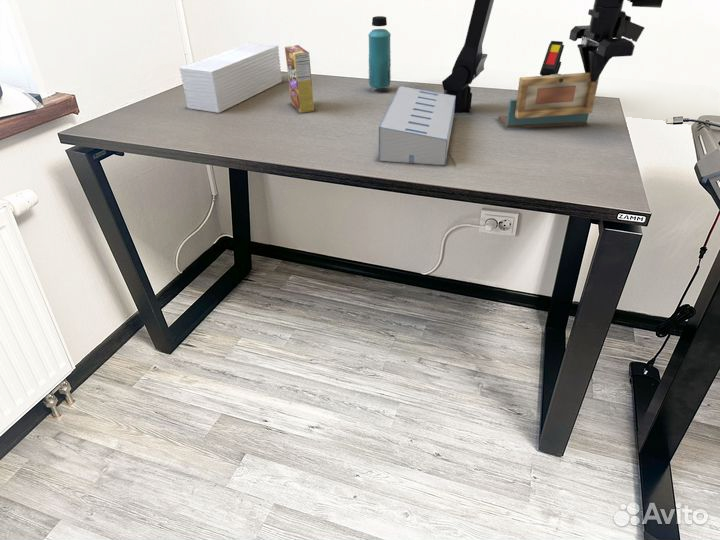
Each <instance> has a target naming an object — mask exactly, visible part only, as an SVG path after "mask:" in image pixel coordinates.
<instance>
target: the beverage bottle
mask: <svg viewBox="0 0 720 540" xmlns="http://www.w3.org/2000/svg"><path fill="white" fill-rule="evenodd" d="M371 20H372V21H371V26H373V27H385V26H387V25H388V22H387V20H388V19H387V16H383V15H377V16H373V17H372V19H371ZM367 36H368V56H367V57H368V61H367V62H368V85H369V86H370V88H375V89H386V88H388V87H390V86H391V79H392V78H391V67H392V66H391V60H392V59H391V58H392V57H391V56H392V55H391V33H390V31H389V30H388V29H386V28H374V29H372V30H371V31H370V32H369V33H368V35H367Z"/></svg>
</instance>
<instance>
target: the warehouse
mask: <svg viewBox="0 0 720 540" xmlns="http://www.w3.org/2000/svg"><path fill="white" fill-rule="evenodd" d="M455 100H456V96H454V95H448V94H444V92H443V93H442V92H437V91H433V90H432V91H431V90H426V89H420V88H414V87H408V86H404V85H399V86H398V88H397V90H396V92H395V93H394V96H393V98H392V99H391V102H390V103H389V106H388V107H387V110H386V112H385V113H384V116H383V118H382V120H381V121H380V124H379V126H378V162H393V163H406V164H407V163H409V164H410V163H411V164H421V165H422V164H423V165H434V166H435V165H437V166H446V162H447V157H448V152H449V145H450V140H451V134H452V129H453V123H454V117H455V113H454V111H455Z"/></svg>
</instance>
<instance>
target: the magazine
mask: <svg viewBox="0 0 720 540" xmlns="http://www.w3.org/2000/svg"><path fill="white" fill-rule="evenodd" d="M564 48H565V44H564V41H559V40H551V41H550V43H549V44H548V47H547V50H546V52H545V53H546V54H545V56H544V59H543V61H542V65H541V68H540V71H539V76H547V75H550V74H559V71H560V68H561V65H562V61H561V59H562V58H561V57H562V54H563V51H564Z"/></svg>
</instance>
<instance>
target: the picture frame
mask: <svg viewBox="0 0 720 540" xmlns="http://www.w3.org/2000/svg"><path fill="white" fill-rule="evenodd" d="M560 74H561V75H547V76H541V75H534V76H522V77H519V80H518V89H517V94H516V95H517V96H516V99H517V103H516V110H515V117H516V118H517V119H520V118H533V117H546V116H559V115H572V114H585V113H589V114H592V113H593V109H594V103H595V99H596V95H597V89H598V86H599V85H598V84H599V80H600V77H599V78H598V79H597V81H596V82H591V77H590V72H588V73H585V72H577V73H564V74H563V73H560Z"/></svg>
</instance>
